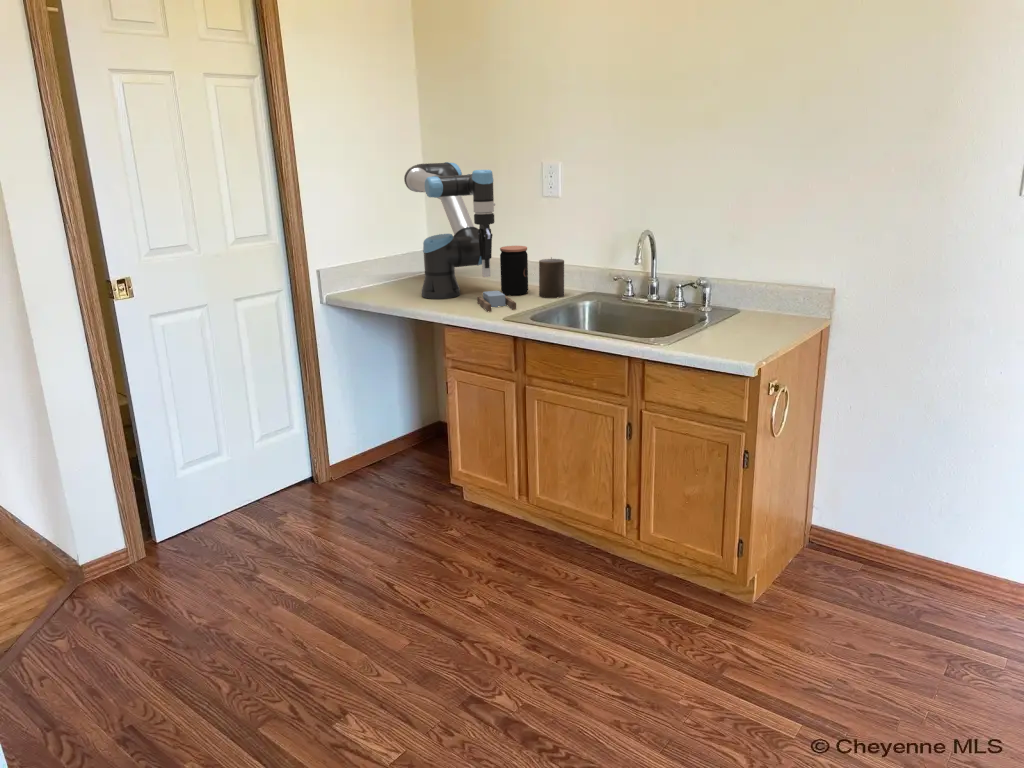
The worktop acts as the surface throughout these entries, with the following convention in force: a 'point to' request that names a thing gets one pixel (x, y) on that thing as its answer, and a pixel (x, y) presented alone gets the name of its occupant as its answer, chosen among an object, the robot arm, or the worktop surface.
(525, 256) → the coffee jar
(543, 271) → the pillar candle
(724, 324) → the worktop surface
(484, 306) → the walnut channel
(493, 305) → the slate block
